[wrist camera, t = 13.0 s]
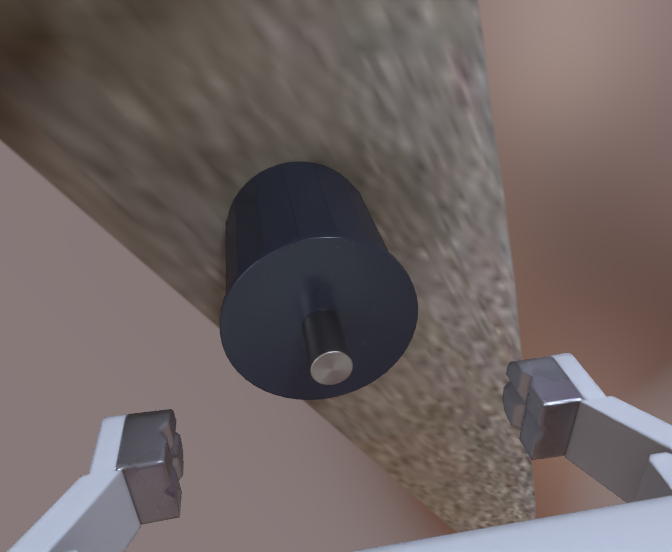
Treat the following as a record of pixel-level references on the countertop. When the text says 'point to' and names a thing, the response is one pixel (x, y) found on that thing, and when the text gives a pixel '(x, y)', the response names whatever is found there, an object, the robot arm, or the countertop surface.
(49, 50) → the countertop surface
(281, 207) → the canister
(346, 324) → the lid
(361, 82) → the countertop surface
